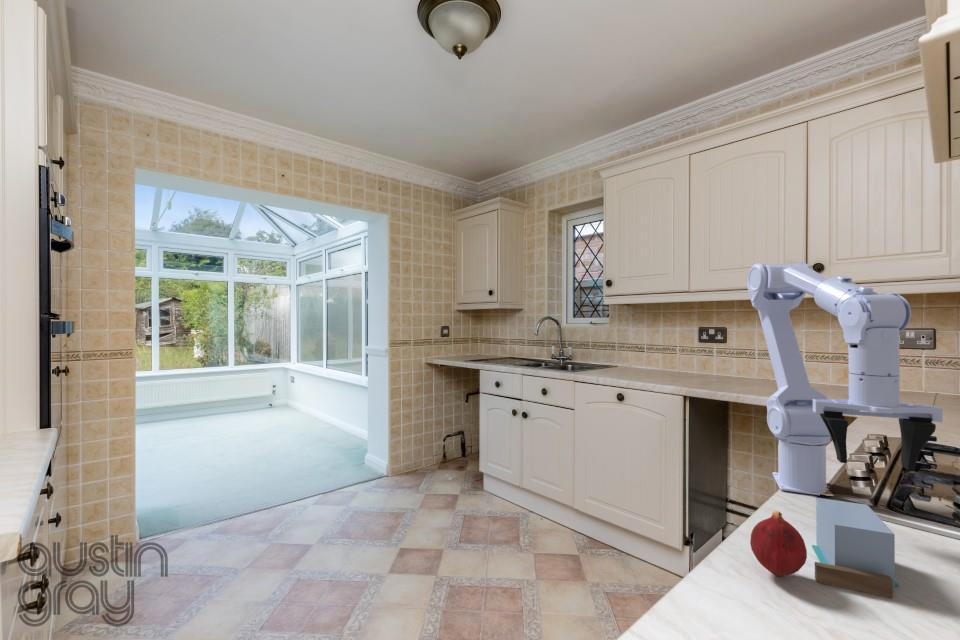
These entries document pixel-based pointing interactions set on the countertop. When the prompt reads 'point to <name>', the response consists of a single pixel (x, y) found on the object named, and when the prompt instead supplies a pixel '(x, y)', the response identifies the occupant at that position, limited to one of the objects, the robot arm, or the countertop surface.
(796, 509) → the countertop surface
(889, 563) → the matte gray cuboid
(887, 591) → the brown cuboid
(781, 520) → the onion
